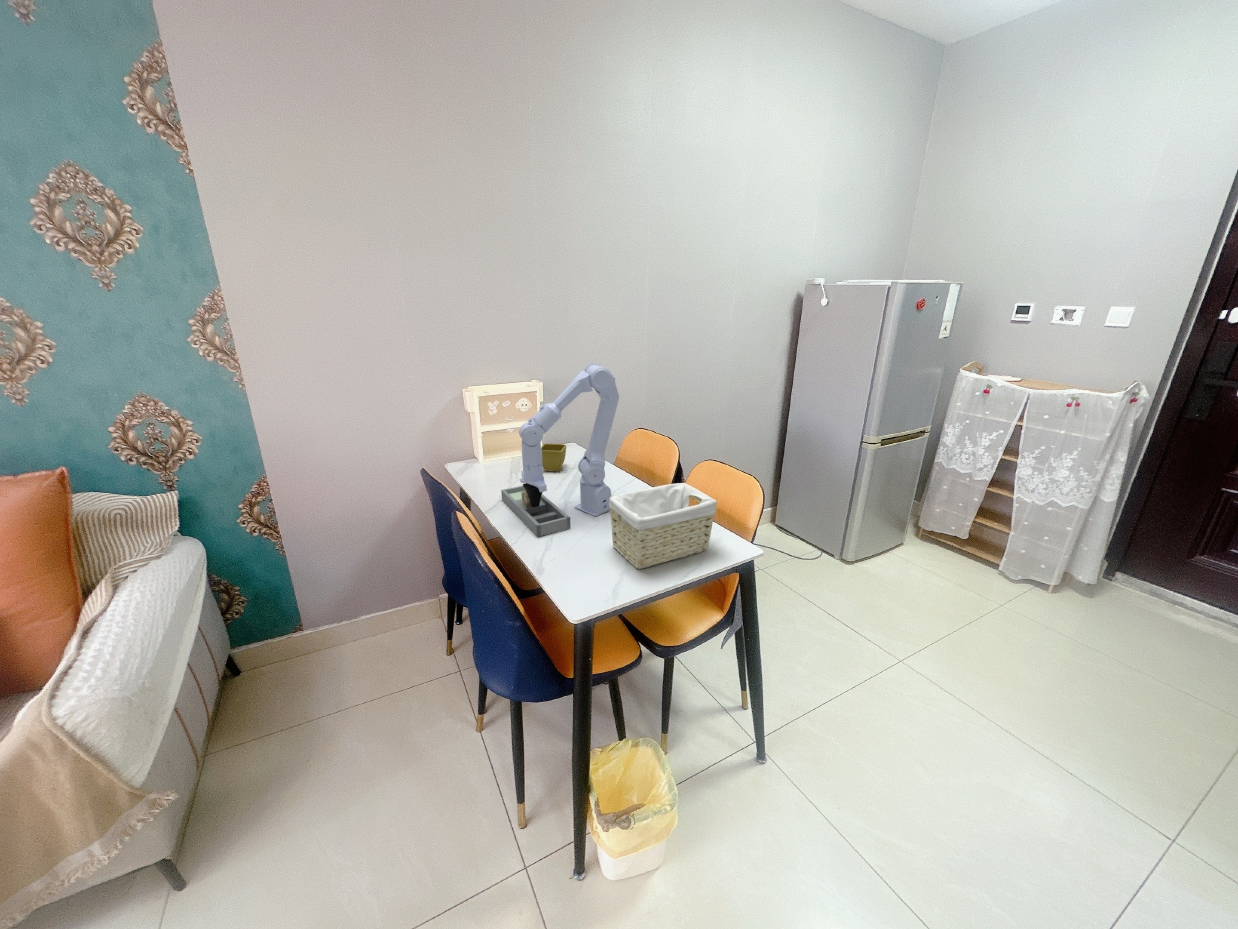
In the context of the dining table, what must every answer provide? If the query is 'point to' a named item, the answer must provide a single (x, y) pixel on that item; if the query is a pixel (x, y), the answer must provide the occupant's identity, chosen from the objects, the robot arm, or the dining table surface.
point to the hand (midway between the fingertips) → (535, 506)
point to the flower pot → (553, 456)
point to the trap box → (536, 513)
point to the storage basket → (661, 523)
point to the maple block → (525, 499)
